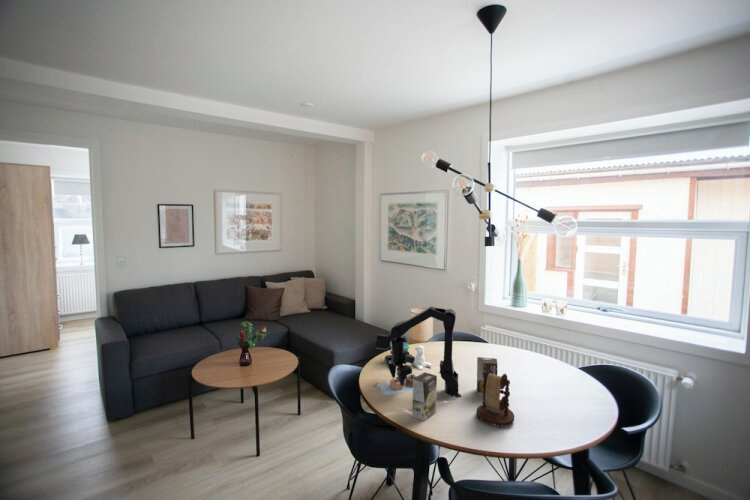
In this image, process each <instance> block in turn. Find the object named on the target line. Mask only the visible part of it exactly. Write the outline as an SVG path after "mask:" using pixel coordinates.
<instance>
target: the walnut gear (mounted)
mask: <svg viewBox="0 0 750 500" xmlns="http://www.w3.org/2000/svg"><path fill="white" fill-rule="evenodd" d="M417 376H418V375H416V374H413V373H412V374H409V375H407V377H406V385H409V386H410V387H411V386H413V378H415V377H417Z"/></svg>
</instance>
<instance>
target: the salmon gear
mask: <svg viewBox="0 0 750 500" xmlns="http://www.w3.org/2000/svg"><path fill="white" fill-rule="evenodd" d="M389 382H390V387H392V389H397V390H399V389H403V387H405V382H404V385H403V386H401V385H400V382H396V377H395V378H393V377H392V378H391V380H389Z"/></svg>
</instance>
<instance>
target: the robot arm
mask: <svg viewBox="0 0 750 500" xmlns="http://www.w3.org/2000/svg"><path fill="white" fill-rule="evenodd" d="M430 318H433V319H435V320H437V321H440V322H442V324H443V325H442V326H443V329H444V341H443V347H444V348H443V360H440V362H439V374H440V378H441V379H442V380H443V381H444V392H445V393H444V394H446V395H447V396H451V397H455V398H459V397H462V394H460V393H459V373H458V372H457V371H456V370H455V368H454V362H453V337H454V328H455V325H456V324H455V323H456V319H457V313H456V311H455V310H453V309H452V308H447V309H445V308H440V307H434V306H429V307H427V308H426V309H425V310H422V311H421V312H419V313H417V314H416V315H414V316H411V318H409V319H406V320H402V321H399V322H396V323H395V324H393V326H392V327H391V330H390V332H389V334H380V333H377V335H376V342H375V348H376V349H377V350H378V349H379V350H389V349H390V348H391V343H392V351H391V350H390V353H389V355H387V354H386V355H385V357H384V362H385V365H386V366H387V368H388V370H389V373H390V375H391V377H392V378H393V379H394V378H396V376H397V377H398V379H399V382H400V385H401V386H403V385H404V382H405V379H406V377H407V376H409V375H411V374H413V368H412V367H410V366H409V365H408V364H411V365H414V360H415V358H416V356H414V355H412V354H410V351H404V342H406V343H408V341H409V339H408V337H406V335H405V334H406V333H407V332H408V331H410V330H411V329H412V328H413V327H416V326H417V325H419V324H421V323H423V322H425V321H426V320H428V319H430ZM403 335H404V336H403ZM402 336H403V337H402ZM407 363H408V364H407ZM439 374H438V375H439Z"/></svg>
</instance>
